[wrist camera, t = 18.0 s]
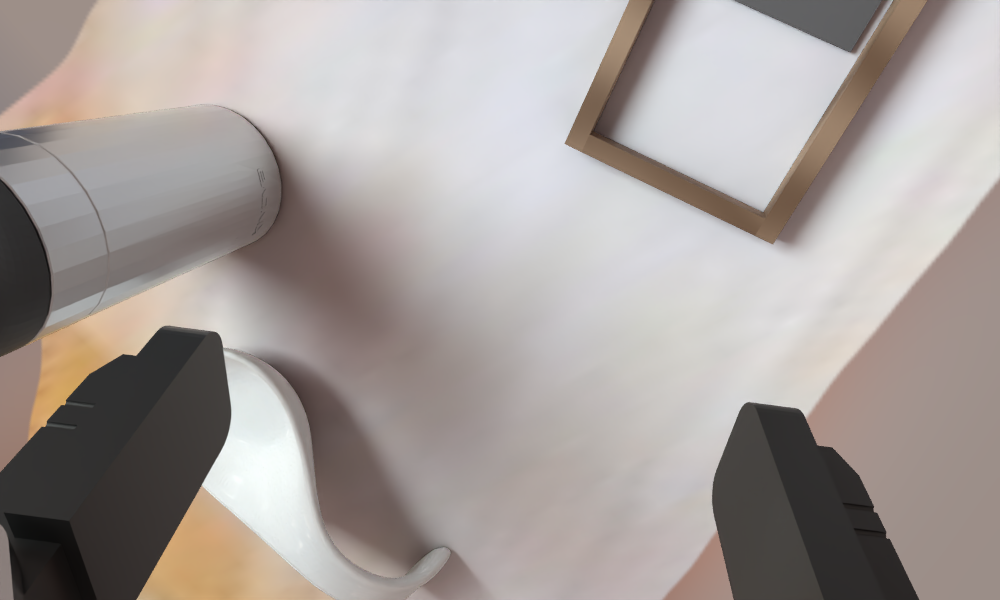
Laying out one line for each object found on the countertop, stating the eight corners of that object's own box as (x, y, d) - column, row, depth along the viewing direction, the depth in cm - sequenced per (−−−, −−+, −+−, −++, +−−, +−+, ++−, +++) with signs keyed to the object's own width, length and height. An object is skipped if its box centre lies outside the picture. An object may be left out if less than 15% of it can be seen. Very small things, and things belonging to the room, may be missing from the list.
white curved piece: (167, 397, 53) (93, 447, 47) (235, 297, 48) (163, 337, 42) (396, 599, 54) (354, 675, 48) (487, 520, 49) (454, 594, 43)
